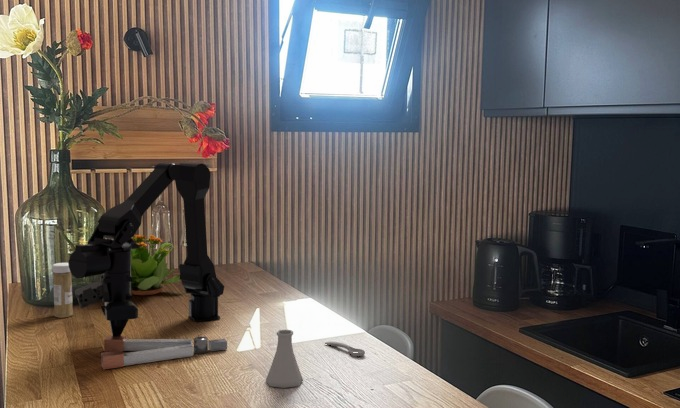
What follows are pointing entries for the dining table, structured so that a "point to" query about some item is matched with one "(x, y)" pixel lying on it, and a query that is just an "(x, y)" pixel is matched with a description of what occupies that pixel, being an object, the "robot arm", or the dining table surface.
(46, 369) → the dining table surface
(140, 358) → the tongs fixed
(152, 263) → the potted flower
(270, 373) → the flask
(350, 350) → the spoon
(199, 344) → the tong arm
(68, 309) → the sprinkles bottle
